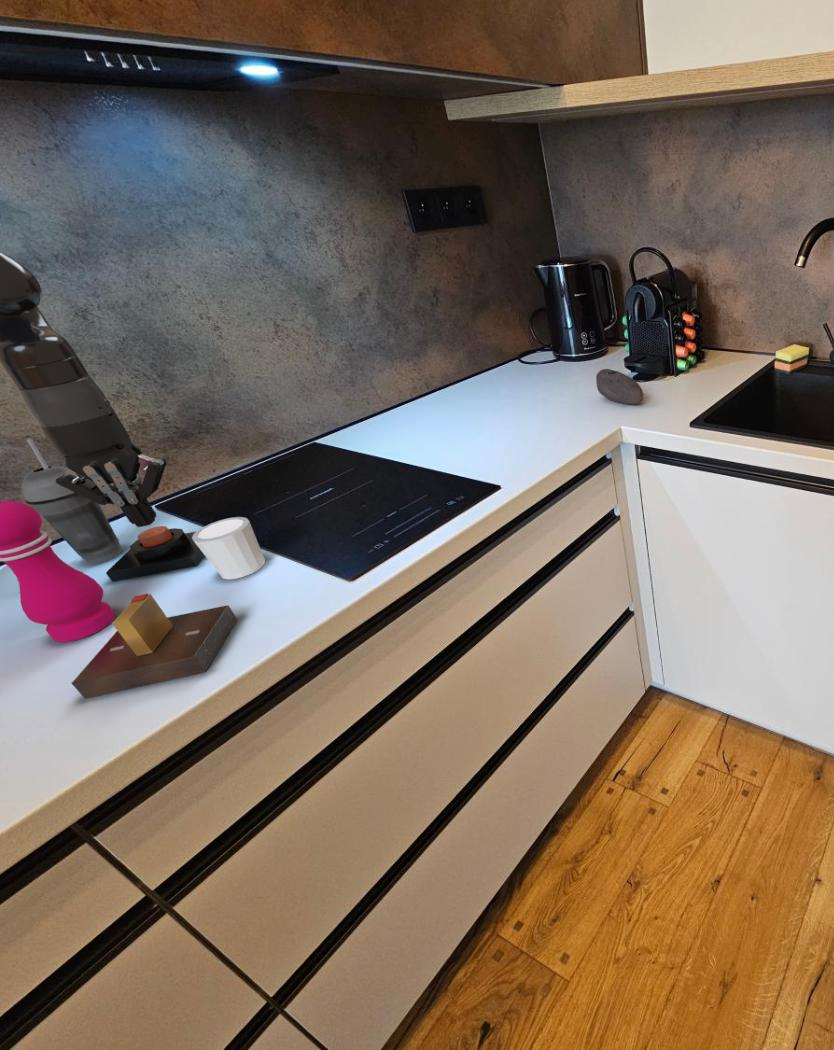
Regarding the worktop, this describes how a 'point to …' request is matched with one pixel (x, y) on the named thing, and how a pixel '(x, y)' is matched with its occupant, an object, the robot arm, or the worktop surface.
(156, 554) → the block
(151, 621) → the lock knob
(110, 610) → the pepper mill
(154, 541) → the button
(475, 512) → the worktop surface
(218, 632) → the plate
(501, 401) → the worktop surface
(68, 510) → the beverage cup
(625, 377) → the perforated stone tool
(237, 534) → the white cup
